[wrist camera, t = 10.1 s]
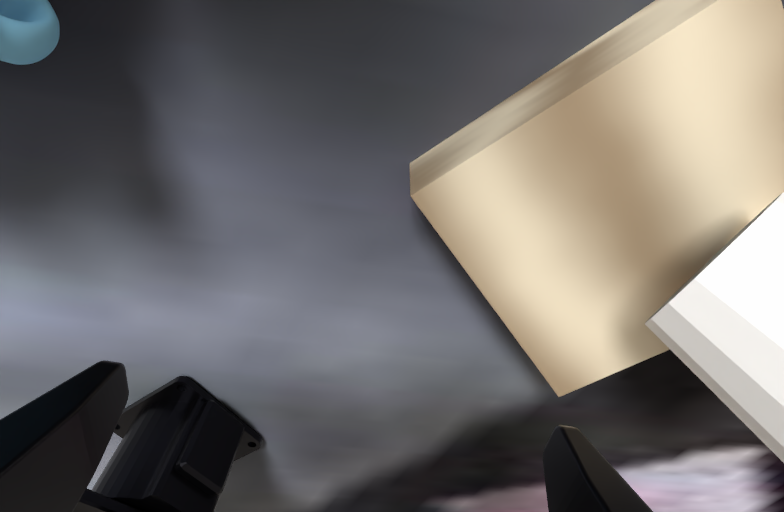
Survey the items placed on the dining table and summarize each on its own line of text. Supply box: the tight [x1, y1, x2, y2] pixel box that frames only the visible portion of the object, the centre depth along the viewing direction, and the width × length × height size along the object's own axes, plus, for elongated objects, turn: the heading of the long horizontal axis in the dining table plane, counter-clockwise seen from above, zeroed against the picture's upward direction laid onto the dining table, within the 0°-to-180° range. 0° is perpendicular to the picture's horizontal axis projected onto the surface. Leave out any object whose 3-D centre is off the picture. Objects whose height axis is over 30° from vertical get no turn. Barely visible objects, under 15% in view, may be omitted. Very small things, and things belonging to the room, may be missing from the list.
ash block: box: [410, 0, 784, 397], centre depth 19 cm, size 12×12×4 cm
